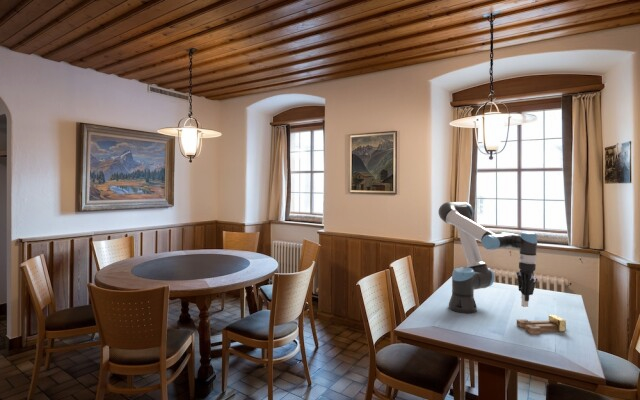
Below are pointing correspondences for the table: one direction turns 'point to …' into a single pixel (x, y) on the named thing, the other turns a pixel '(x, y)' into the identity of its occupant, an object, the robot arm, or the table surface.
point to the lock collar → (558, 322)
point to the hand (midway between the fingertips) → (524, 306)
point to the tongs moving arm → (531, 322)
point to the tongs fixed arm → (541, 328)
